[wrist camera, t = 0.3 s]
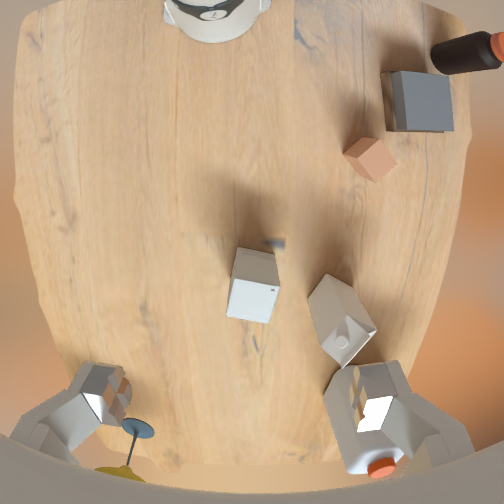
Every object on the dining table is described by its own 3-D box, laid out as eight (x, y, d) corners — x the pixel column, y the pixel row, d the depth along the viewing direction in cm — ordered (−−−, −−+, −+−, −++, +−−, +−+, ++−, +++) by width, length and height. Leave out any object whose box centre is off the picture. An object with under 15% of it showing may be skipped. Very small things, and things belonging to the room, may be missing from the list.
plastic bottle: (337, 361, 69) (368, 457, 44) (389, 364, 71) (430, 448, 45) (317, 401, 75) (336, 491, 49) (366, 402, 76) (394, 483, 50)
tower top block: (390, 73, 43) (400, 70, 39) (436, 78, 42) (448, 76, 38) (396, 129, 46) (407, 129, 43) (441, 130, 46) (453, 131, 42)
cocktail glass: (105, 426, 81) (83, 486, 58) (119, 402, 76) (94, 472, 53) (153, 449, 85) (140, 510, 62) (174, 428, 80) (161, 499, 57)
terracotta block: (342, 154, 52) (357, 158, 44) (362, 136, 50) (379, 139, 43) (359, 175, 53) (375, 183, 46) (378, 158, 52) (397, 163, 44)
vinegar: (445, 81, 45) (513, 75, 27) (424, 55, 43) (488, 37, 25) (460, 64, 43) (526, 55, 25) (440, 38, 42) (503, 19, 23)
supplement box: (237, 245, 58) (234, 276, 46) (275, 253, 59) (282, 286, 47) (228, 280, 61) (224, 316, 49) (265, 287, 61) (269, 325, 50)
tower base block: (378, 74, 46) (387, 70, 42) (427, 78, 46) (438, 75, 42) (385, 131, 50) (394, 131, 47) (433, 131, 50) (443, 132, 46)
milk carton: (353, 287, 62) (385, 344, 44) (333, 313, 64) (357, 374, 46) (326, 272, 60) (353, 329, 43) (306, 299, 63) (324, 362, 45)
